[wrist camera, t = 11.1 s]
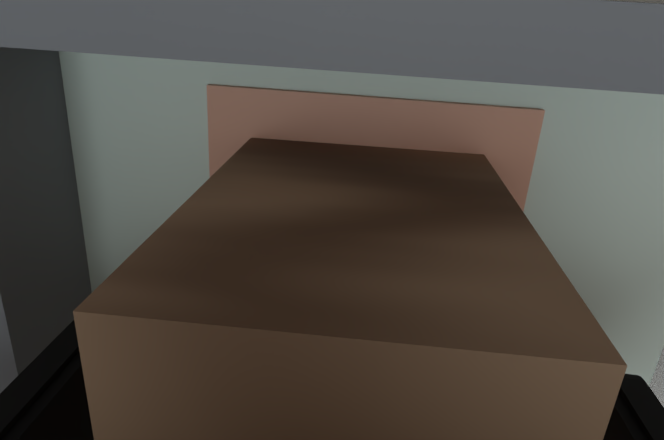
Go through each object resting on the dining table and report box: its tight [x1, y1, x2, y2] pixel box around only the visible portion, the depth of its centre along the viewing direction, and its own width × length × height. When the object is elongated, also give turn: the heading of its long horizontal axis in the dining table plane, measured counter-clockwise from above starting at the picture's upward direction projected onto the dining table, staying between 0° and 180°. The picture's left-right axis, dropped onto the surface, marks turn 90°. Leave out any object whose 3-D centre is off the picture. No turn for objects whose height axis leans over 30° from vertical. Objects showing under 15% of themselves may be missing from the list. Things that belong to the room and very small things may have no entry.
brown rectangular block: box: [73, 138, 627, 440], centre depth 10 cm, size 5×9×7 cm, turn 177°
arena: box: [0, 0, 664, 393], centre depth 13 cm, size 20×16×4 cm
